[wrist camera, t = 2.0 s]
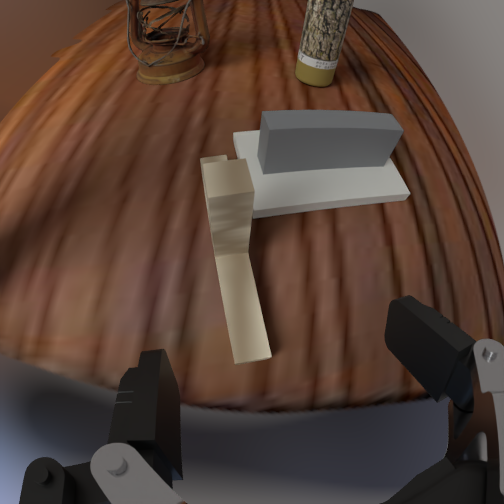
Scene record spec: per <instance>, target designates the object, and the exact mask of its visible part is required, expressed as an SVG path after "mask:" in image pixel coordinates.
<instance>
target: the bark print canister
mask: <svg viewBox="0 0 504 504" xmlns="http://www.w3.org/2000/svg"><path fill="white" fill-rule="evenodd" d="M353 2H354V0H308V4H307V10H306V15H305V21H304V26H303V32H302V37H301V43H300V49H299V54H298V60H297V65H296V70H295V75H296V77H297V78H298V79H299V80H300V81H301V82H303V83H305V84H308V85H311V86H315V87H325V86H328V85H329V84H331V82H332V79H333V76H334V72H335V69H336V66H337V62H338V58H339V55H340V51H341V48H342V44H343V40H344V37H345V33H346V29H347V25H348V22H349V18H350V14H351V10H352V6H353Z"/></svg>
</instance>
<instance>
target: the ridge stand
mask: <svg viewBox="0 0 504 504" xmlns="http://www.w3.org/2000/svg"><path fill="white" fill-rule="evenodd" d="M403 131H404V130H403V129H402V127H401V126H400V125H399V123H398V122H397V121H396V119H395V118H394V117H393V115H392V114H385V113H374V112H360V111H340V110H280V111H262V117H261V126H260V130H257V131H246V132H235V133H233V142H234V146H235V150H236V154H237V158H238V159H244V158H246V161H247V165H248V168H249V172H250V175H251V179H252V183H253V186H254V190H255V194H254V203H253V213H252V217H253V219H254V218H261V217H269V216H276V215H283V214H291V213H298V212H306V211H314V210H322V209H330V208H338V207H347V206H356V205H365V204H374V203H384V202H393V201H404V200H406V199H407V197H408V196H409V195H410V192H409V190H408V188H407V186H406V185H405V183H404V181H403V179H402V177H401V176H400V174H399V172H398V170H397V169H396V167H395V165H394V164H393V162H392V160H391V159H390V157H389V156H390V155H391V153H392V151H393V149H394V148H395V146H396V144H397V142H398V140H399V139H400V137H401V135H402V133H403Z"/></svg>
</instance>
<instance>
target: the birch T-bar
mask: <svg viewBox="0 0 504 504" xmlns="http://www.w3.org/2000/svg"><path fill="white" fill-rule="evenodd" d="M200 162H201V170H202V177H203V184H204V191H205V198H206V204H207V211H208V218H209V224H210V230H211V236H212V243H213V249H214V255H215V261H216V266H217V272H218V278H219V284H220V289H221V295H222V300H223V306H224V311H225V316H226V321H227V327H228V332H229V337H230V342H231V347H232V352H233V357H234V362H235V365H239V364H244V363H249V362H254V361H259V360H264V359H269V358H271V357H272V356H271V351H270V347H269V343H268V338H267V334H266V329H265V325H264V321H263V316H262V312H261V307H260V303H259V299H258V294H257V290H256V285H255V281H254V276H253V272H252V268H251V263H250V259H249V254H248V249H249V240H250V231H251V222H252V213H253V203H254V194H255V190H254V186H253V183H252V179H251V175H250V172H249V168H248V165H247V161H246V158H244V159H235V160H227V155H220V156H213V157H206V158H200Z"/></svg>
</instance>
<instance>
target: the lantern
mask: <svg viewBox="0 0 504 504" xmlns="http://www.w3.org/2000/svg"><path fill="white" fill-rule="evenodd" d="M175 1H178V0H141V3H140V4H141V6H149V7H145V8H142V9H141V10H139V0H126V3H127V7H128V23H127V41H128V46H129V49H130V51H131V53H132V54H133V56H134V57H135V58H136V59H137V60H138V64H139V70H138V72H137V79H138V80H139V81H140V82H142V83H145V84H150V85H157V84H159V85H164V84H171V83H176V82H181V81H183V80H186V79H189V78H191V77H193V76H195V75H196V74H198V73H199V72H201V71H202V70H203V69H204V66H205V63H204V61H203V59H202V58H201V57H200V53H202V52H204V51H205V50H206V49H207V48H208V44H209V38H210V36H209V31H208V25H207V20H206V15H205V9H204V4H203V0H189V1H188V3H187V4H186V5H183V6H180V7H178V8H174V7H168V6H160V7H159V6H156V5H160V4H165V3H171V2H175ZM189 3H190V4H189ZM153 5H154V6H153ZM189 6H191V11H192V16H193V20H194V24H195V31H196V36H190V35H188V32H189V26H190V24H189V25H188V26H187V27H186V28H182V26H183V22H184V18H186V19H187V23H188V22H189V18H188V16H187V14H186V10H187V8H188V7H189ZM148 8H149V9H150V8H169V9H171V11H170V12H168V13H166V14H164V15H162V16H160V17H159V18H156V19H155V20H153V21H151V22H150V23H149V25H148V23H147V20H148V17H146V16H147V15H148V14H149V13H150V11H148V13H147V14H146V15H145V16H144V18H143V16H142V15H143V12H141V11H143V10H144V9H148ZM183 9H184V12H183V11H182V10H183ZM181 11H182V13H183V16H182V21H181V25H180V27H170V28H163V29H161V27H162V26H163V25H164V24H165V23H167V22H168V21H169V20H170V19H171V18H173V17H174V16H175V15H176V14H177V13H180V14H181ZM173 13H175V14H173ZM171 14H173V15H172V17H171V18H169V19H168V20H167V21H165V22H164V23H162V24H161V25H160V26H159V27H158V28H154V27H151V24H152V23H154V22H155V21H159V20H161V19H163V18H164V17H166V16H169V15H171ZM145 18H146V22H145V21H144V19H145ZM129 22H130V32H129ZM144 22H145V23H144ZM148 26H149V27H150V28H152V29H153V30H154V31H152V32H151V33H148V34H146V28H148ZM129 33H130V36H131V40H132V42H133V43H134V45H135V46H136V47H137V48H138V49H140V50H142V53H141V54H140V55H139V57H138V58H137V57H136V55H135V54H134V53H133V52H132V49H131V46H130V39H129ZM192 37H193V38H197V39H196V41H195V43H190V42H187V40H188V38H192Z"/></svg>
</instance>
